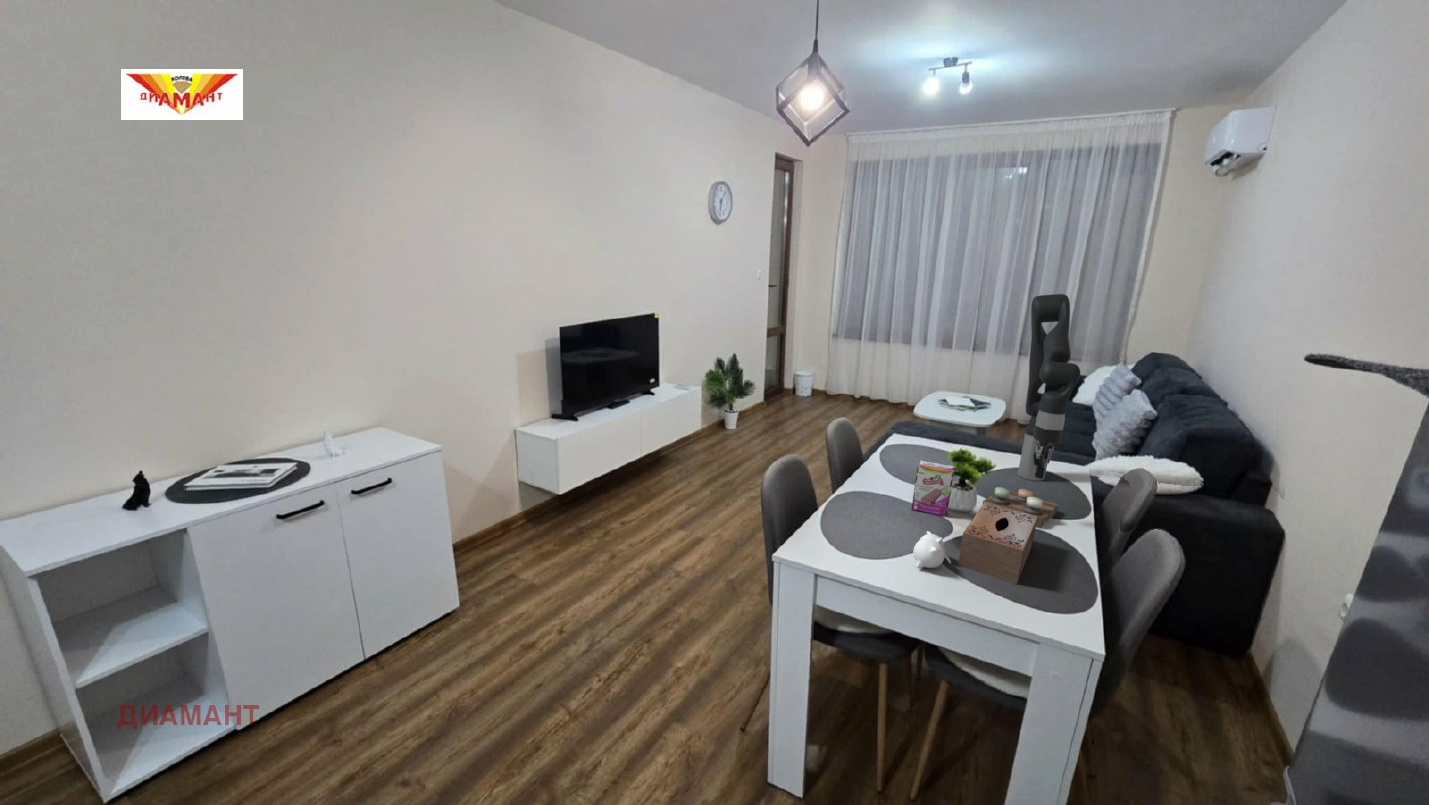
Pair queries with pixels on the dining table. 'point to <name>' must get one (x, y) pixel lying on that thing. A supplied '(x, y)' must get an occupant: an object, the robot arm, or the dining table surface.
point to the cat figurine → (929, 551)
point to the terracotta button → (1025, 493)
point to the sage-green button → (1002, 492)
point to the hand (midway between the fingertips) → (1039, 477)
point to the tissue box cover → (998, 542)
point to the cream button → (1034, 502)
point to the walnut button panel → (1025, 507)
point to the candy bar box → (933, 488)
